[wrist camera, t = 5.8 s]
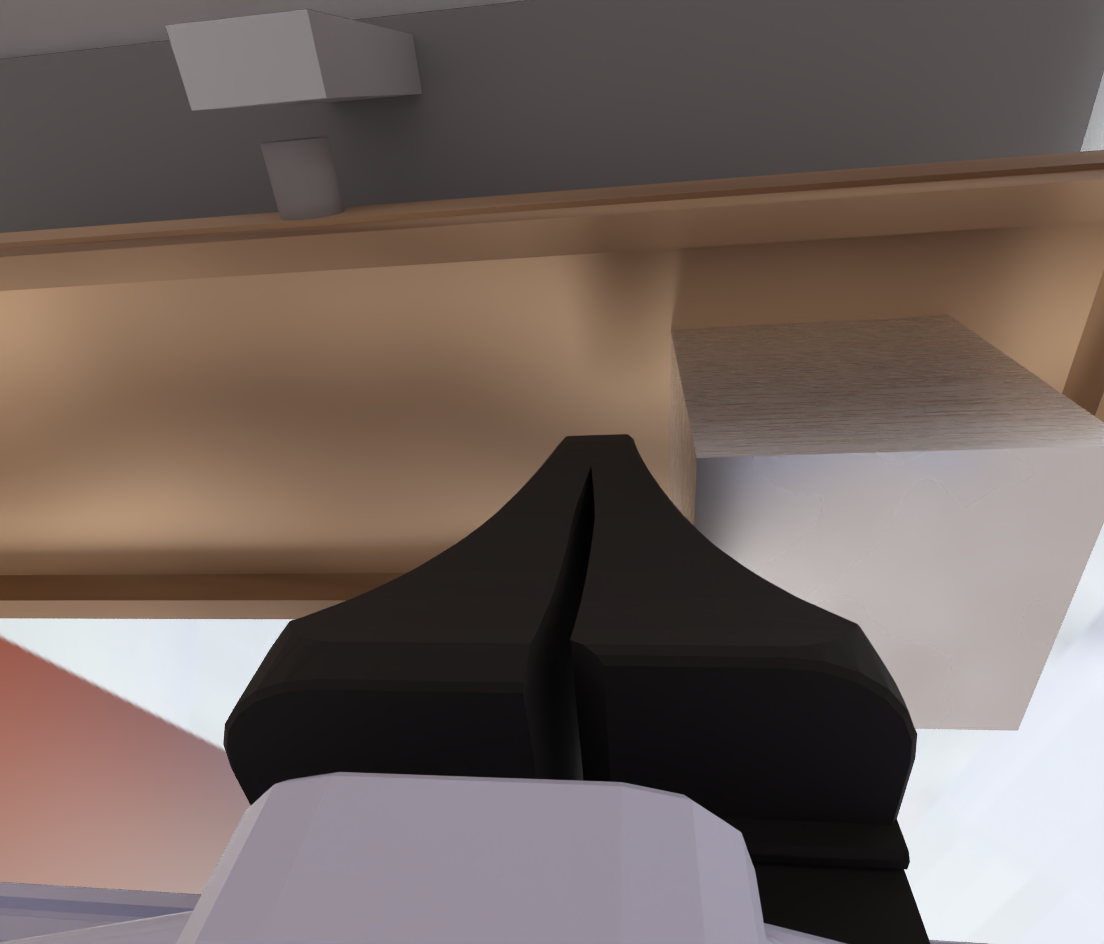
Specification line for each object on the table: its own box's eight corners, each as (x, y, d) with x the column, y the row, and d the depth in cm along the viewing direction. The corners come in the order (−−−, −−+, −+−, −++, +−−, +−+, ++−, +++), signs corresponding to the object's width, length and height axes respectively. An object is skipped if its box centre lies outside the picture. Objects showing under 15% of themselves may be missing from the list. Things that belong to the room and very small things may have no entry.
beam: (985, 593, 17) (1039, 668, 15) (-48, 595, 20) (-127, 655, 18) (1161, 62, 11) (1293, 56, 9) (-331, 194, 14) (-497, 212, 12)
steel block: (898, 537, 14) (1018, 730, 10) (668, 541, 15) (688, 724, 11) (949, 315, 12) (1135, 445, 8) (670, 330, 12) (696, 457, 8)
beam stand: (951, 551, 22) (1064, 712, 16) (57, 555, 26) (-99, 685, 20) (1124, -62, 14) (1471, -166, 8) (-214, 85, 18) (-599, 86, 12)
